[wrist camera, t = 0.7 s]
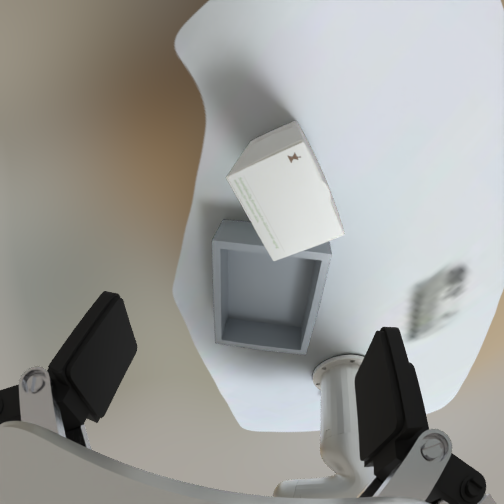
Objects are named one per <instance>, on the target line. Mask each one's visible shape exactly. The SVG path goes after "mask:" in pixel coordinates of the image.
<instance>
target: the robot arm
mask: <svg viewBox="0 0 504 504" xmlns="http://www.w3.org/2000/svg"><path fill="white" fill-rule="evenodd" d="M136 351H137V344H136V340H135V338H134V334H133V331H132V328H131V325H130V322H129V318H128V315H127V312H126V309H125V305H124V301H123V299H122V298H120V296H119V294H116V293H112V292H107V291H104V292H103V293H102V294H101V295H100V296H99V298H98V299H97V300H96V302H95V303H94V304H93V305H92V307H91V308H90V309H89V310H88V312H87V313H86V314H85V316H84V317H83V318H82V320H81V321H80V322H79V324H78V325H77V326H76V328H75V329H74V330H73V332H72V333H71V335H70V336H69V337H68V339H67V340H66V342H65V343H64V344H63V346H62V347H61V349H60V350H59V351H58V353H57V354H56V356H55V357H54V359H53V360H52V362H51V363H50V365H49V366H48V367H49V369H48V370H47V371H46V369H44V368H43V367H39V366H35V367H31V368H29V369H28V370H26V371H25V372H24V373H23V374H22V375H21V378H20V380H19V385H16V386H13V387H10V388H6V389H3V390H0V504H496V503H495V501H494V500H493V498H492V497H491V495H490V494H487V495H486V494H485V491H486V482H485V479H484V477H483V476H482V475H481V474H480V473H479V472H478V471H476V470H475V469H473V468H472V467H470V466H469V465H468V464H466V463H465V462H463V461H462V460H461V459H459V458H458V457H456V456H455V455H453V454H452V443H451V440H450V438H449V437H448V435H447V434H446V433H444V432H443V431H441V430H438V429H430V430H429V427H428V422H427V417H426V413H425V408H424V404H423V399H422V395H421V391H420V387H419V383H418V379H417V375H416V372H415V368H414V366H413V365H412V363H409V361H408V358H407V354H406V351H405V347H404V344H403V340H402V337H401V334H400V331H399V329H398V328H396V327H382V328H381V330H380V331H376V333H375V335H374V338H373V340H372V342H371V344H370V346H369V349H368V351H367V353H366V355H365V357H363V356H359V355H341V356H337V357H333V358H330V359H328V360H326V361H324V362H322V363H321V364H320V365H318V367H317V368H316V369H315V371H314V372H313V383H314V385H315V386H316V387H317V388H318V389H320V390H321V433H320V435H321V436H320V454H321V457H322V459H323V461H324V462H325V464H326V465H327V466H328V467H329V468H330V469H332V470H333V471H334V472H335V473H336V474H335V475H334V476H328V477H323V478H309V479H294V480H287V481H283V482H281V483H280V484H279V485H277V487H276V488H275V490H274V493H273V497H269V496H260V495H251V494H243V493H237V492H230V491H224V490H218V489H213V488H208V487H203V486H199V485H194V484H190V483H186V482H181V481H178V480H174V479H171V478H167V477H164V476H160V475H157V474H154V473H151V472H147V471H144V470H142V469H139V468H136V467H132V466H130V465H127V464H124V463H122V462H119V461H117V460H114V459H112V458H109V457H107V456H105V455H102V454H100V453H98V452H95V451H93V450H92V449H91V446H90V443H89V440H88V436H87V433H86V429H85V425H84V422H85V420H86V418H87V419H90V420H92V421H94V422H96V423H97V422H98V421H99V419H100V418H102V417H103V416H104V415H105V413H106V411H107V409H108V407H109V405H110V403H111V401H112V399H113V397H114V395H115V393H116V391H117V389H118V387H119V385H120V383H121V381H122V379H123V377H124V375H125V373H126V371H127V369H128V367H129V365H130V363H131V361H132V360H133V358H134V356H135V354H136Z"/></svg>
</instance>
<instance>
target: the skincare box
mask: <svg viewBox="0 0 504 504" xmlns="http://www.w3.org/2000/svg"><path fill="white" fill-rule="evenodd" d="M226 179H227V181H228V182H229V184H230V186H231V188H232V189H233V191H234V193H235V195H236V196H237V198H238V200H239V202H240V204H241V205H242V207H243V209H244V211H245V212H246V214H247V216H248V218H249V220H250V221H251V223H252V225H253V227H254V229H255V230H256V232H257V234H258V236H259V237H260V239H261V241H262V243H263V244H264V246H265V248H266V250H267V251H268V253H269V255H270V256H271V258H272V260H273V261H276V260H279V259H281V258H284V257H287V256H290V255H293V254H296V253H298V252H301V251H304V250H306V249H309V248H312V247H315V246H317V245H320V244H323V243H325V242H328V241H331V240H333V239H336V238H338V237H341V236H344V235H345V233H344V229H343V225H342V222H341V219H340V216H339V213H338V210H337V207H336V205H335V202H334V199H333V197H332V194H331V191H330V189H329V186H328V183H327V181H326V178H325V176H324V174H323V171H322V169H321V167H320V165H319V163H318V160H317V158H316V156H315V154H314V152H313V150H312V148H311V146H310V144H309V142H308V141H307V139H306V137H305V135H304V133H303V131H302V129H301V128H300V126H299V124H298V122H297V121H293V122H290V123H288V124H286V125H283V126H281V127H279V128H277V129H274V130H272V131H270V132H268V133H266V134H264V135H262V136H260V137H258V138H256V139H253V140H252V141H250V143H249V144H248V146H247V147H246V149H245V150H244V151H243V153H242V154H241V156H240V157H239V159H238V160H237V162H236V163H235V165H234V166H233V168H232V169H231V171H230V172H229V174H228V175H227V176H226Z"/></svg>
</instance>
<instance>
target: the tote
mask: <svg viewBox="0 0 504 504" xmlns="http://www.w3.org/2000/svg"><path fill="white" fill-rule="evenodd" d="M331 255H332V253H331V247H330V242H329V241H328V242H325V243H323V244H320V245H317V246H315V247H312V248H309V249H306V250H304V251H301V252H298V253H296V254H293V255H290V256H287V257H284V258H281V259H279V260H276V261H273V260H272V258H271V256H270V255H269V253H268V251H267V250H266V248H265V246H264V244H263V243H262V241H261V239H260V237H259V236H258V234H257V232H256V230H255V229H254V227H253V225H252V223H251V222H245V221H235V220H226V219H223V221H222V223H221V225H220V226H219V228H218V230H217V232H216V234H215V236H214V238H213V239H212V264H213V300H214V326H215V343H218V344H224V345H230V346H236V347H243V348H250V349H258V350H265V351H273V352H282V353H291V354H301V355H306V353H307V349H308V346H309V342H310V339H311V335H312V332H313V328H314V324H315V321H316V317H317V313H318V309H319V306H320V302H321V298H322V294H323V290H324V286H325V281H326V277H327V273H328V269H329V264H330V260H331Z"/></svg>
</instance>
